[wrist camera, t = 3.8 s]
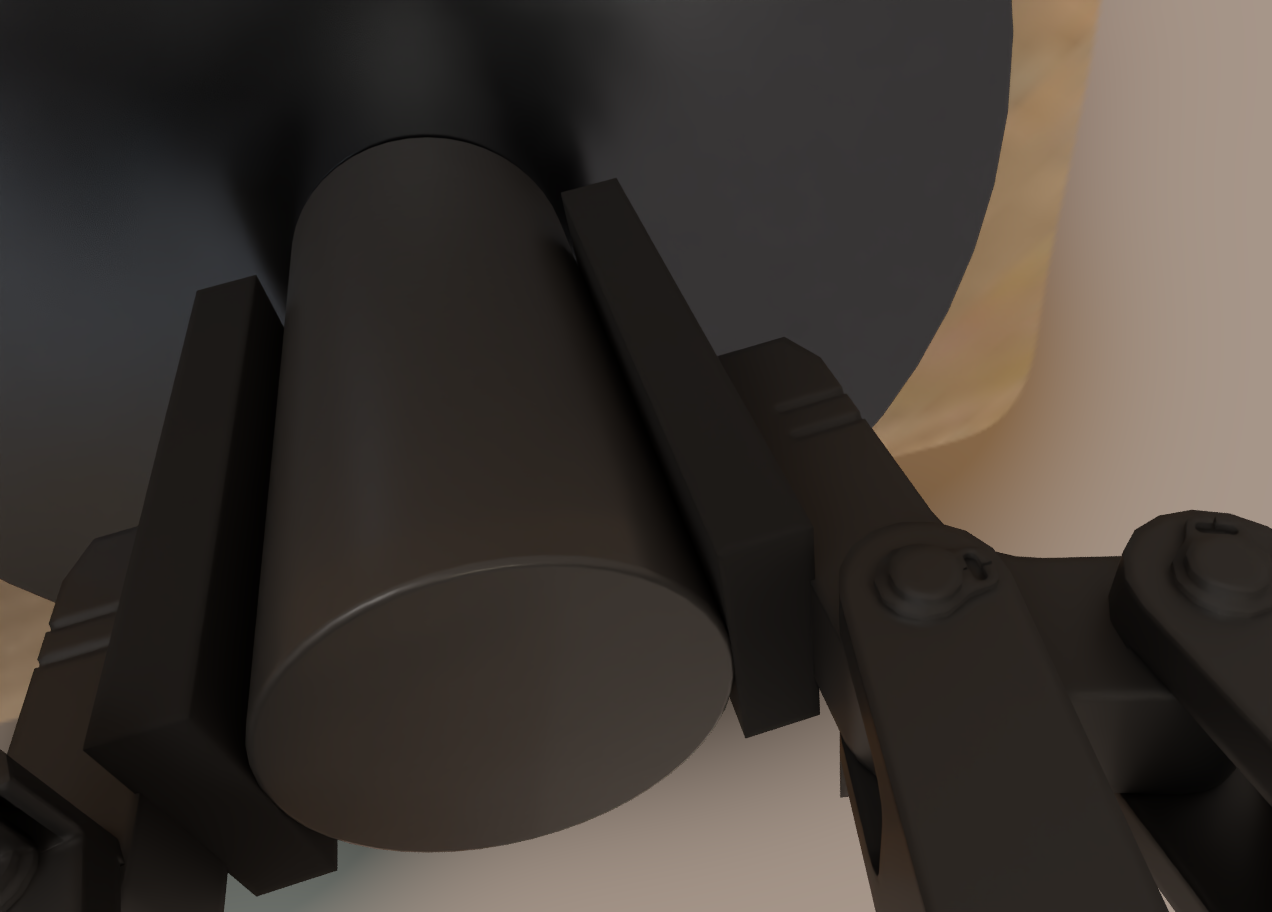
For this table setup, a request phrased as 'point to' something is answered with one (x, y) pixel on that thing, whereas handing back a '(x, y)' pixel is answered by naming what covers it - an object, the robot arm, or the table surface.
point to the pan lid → (463, 340)
